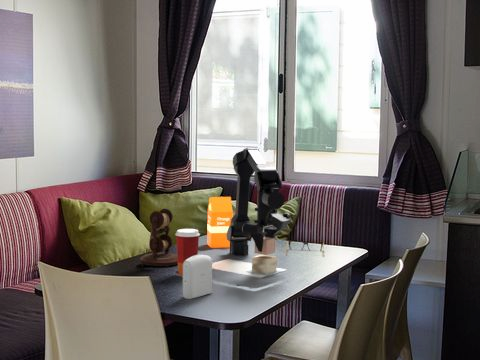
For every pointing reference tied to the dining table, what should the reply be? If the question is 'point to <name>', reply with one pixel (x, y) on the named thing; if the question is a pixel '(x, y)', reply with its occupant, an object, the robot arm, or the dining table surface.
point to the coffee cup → (186, 246)
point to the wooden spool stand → (160, 241)
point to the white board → (240, 268)
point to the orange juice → (219, 221)
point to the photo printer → (197, 276)
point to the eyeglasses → (307, 245)
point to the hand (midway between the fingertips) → (264, 250)
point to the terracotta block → (267, 246)
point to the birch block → (264, 264)
